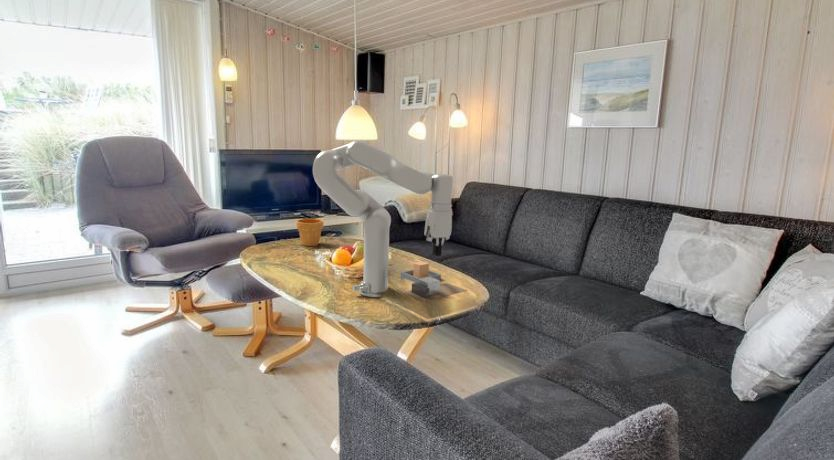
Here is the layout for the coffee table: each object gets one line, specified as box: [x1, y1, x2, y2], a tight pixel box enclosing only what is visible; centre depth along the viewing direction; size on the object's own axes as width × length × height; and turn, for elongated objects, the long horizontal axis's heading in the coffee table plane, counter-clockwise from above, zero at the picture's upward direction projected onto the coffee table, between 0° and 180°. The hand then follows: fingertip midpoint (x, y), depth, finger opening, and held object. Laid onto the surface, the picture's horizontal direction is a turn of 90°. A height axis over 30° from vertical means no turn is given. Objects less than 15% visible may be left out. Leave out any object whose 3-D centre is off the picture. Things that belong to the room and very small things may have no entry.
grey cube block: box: [418, 277, 441, 295], centre depth 184 cm, size 6×6×5 cm
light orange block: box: [412, 261, 430, 278], centre depth 203 cm, size 5×4×7 cm
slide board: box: [402, 282, 468, 302], centre depth 186 cm, size 23×12×5 cm, turn 129°
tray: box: [400, 269, 442, 283], centre depth 203 cm, size 12×12×4 cm
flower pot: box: [295, 218, 324, 247], centre depth 261 cm, size 14×14×13 cm
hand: (436, 255), depth 184 cm, fingers closed
